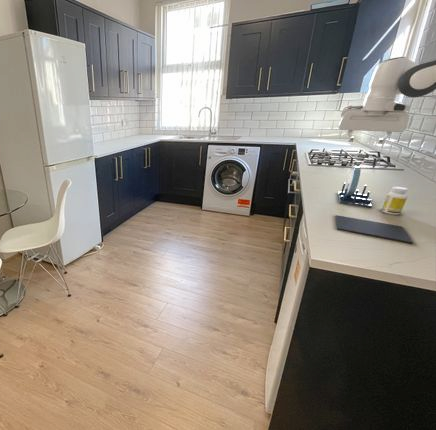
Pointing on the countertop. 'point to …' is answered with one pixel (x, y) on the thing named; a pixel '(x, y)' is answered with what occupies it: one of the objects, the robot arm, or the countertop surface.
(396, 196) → the supplement bottle
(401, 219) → the countertop surface
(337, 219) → the mat
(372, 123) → the robot arm
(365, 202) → the dish rack
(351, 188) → the plate
